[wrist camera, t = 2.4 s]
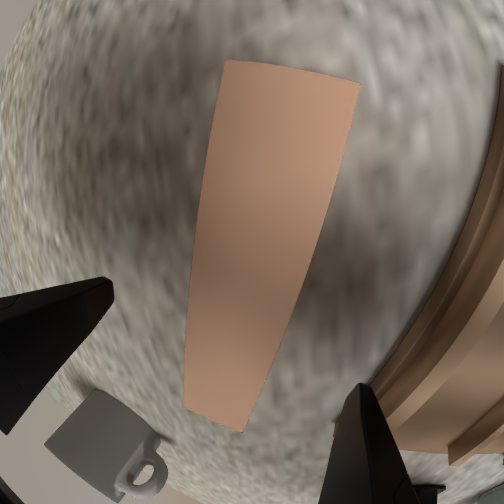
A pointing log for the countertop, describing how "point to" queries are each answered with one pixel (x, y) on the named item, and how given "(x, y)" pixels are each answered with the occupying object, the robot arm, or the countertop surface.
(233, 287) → the clay strip
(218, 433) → the countertop surface
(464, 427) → the rack
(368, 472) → the robot arm
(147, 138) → the countertop surface
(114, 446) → the coffee mug
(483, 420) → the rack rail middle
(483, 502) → the disposable coffee cup
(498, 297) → the rack rail
